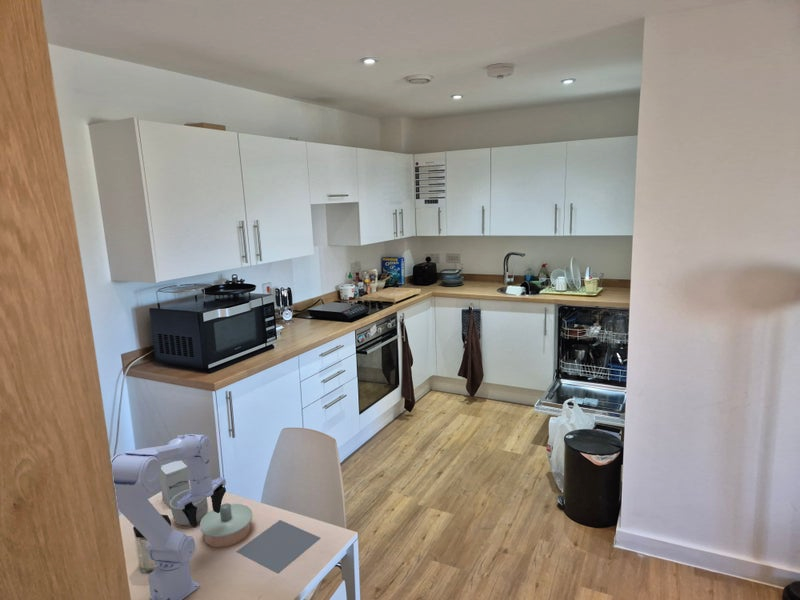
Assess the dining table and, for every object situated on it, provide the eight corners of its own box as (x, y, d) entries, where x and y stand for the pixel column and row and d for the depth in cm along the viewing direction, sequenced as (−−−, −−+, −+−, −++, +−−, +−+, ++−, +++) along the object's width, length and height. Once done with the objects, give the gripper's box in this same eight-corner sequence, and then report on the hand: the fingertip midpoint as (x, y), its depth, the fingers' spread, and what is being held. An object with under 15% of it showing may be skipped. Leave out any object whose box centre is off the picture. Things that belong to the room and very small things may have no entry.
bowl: (223, 553, 147) (221, 539, 146) (195, 538, 154) (193, 525, 153) (258, 528, 157) (257, 515, 157) (230, 516, 164) (229, 503, 164)
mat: (278, 575, 138) (277, 573, 137) (236, 553, 147) (236, 551, 147) (320, 539, 151) (320, 537, 151) (280, 521, 161) (280, 519, 161)
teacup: (201, 530, 158) (198, 506, 156) (166, 530, 158) (163, 507, 157) (217, 503, 172) (215, 481, 170) (185, 504, 172) (182, 482, 170)
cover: (223, 543, 144) (221, 527, 144) (189, 527, 152) (187, 512, 151) (262, 514, 157) (261, 500, 156) (229, 501, 165) (227, 487, 164)
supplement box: (169, 509, 169) (164, 474, 167) (162, 500, 175) (157, 466, 172) (192, 500, 174) (187, 466, 172) (184, 491, 180) (180, 458, 177)
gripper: (185, 492, 135) (191, 537, 138) (230, 467, 147) (235, 509, 150) (169, 484, 139) (176, 529, 142) (214, 461, 151) (219, 502, 154)
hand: (205, 518), depth 146 cm, fingers open, 7 cm apart
